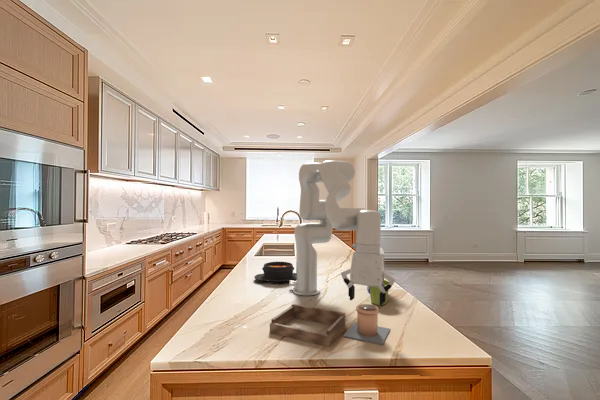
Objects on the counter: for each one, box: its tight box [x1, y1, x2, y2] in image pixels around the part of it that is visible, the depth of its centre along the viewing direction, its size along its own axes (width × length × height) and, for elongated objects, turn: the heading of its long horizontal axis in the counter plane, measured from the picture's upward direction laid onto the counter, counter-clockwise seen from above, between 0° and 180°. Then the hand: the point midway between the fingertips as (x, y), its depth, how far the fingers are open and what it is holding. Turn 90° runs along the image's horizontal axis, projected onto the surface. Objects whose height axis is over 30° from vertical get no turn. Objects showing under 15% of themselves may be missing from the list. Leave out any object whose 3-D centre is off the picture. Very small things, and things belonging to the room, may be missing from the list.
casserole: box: [254, 261, 296, 284], centre depth 164 cm, size 25×19×8 cm
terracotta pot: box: [355, 303, 380, 336], centre depth 100 cm, size 7×7×8 cm
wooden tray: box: [269, 303, 346, 347], centre depth 103 cm, size 20×16×4 cm
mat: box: [343, 321, 391, 346], centre depth 100 cm, size 12×12×1 cm
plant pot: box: [369, 279, 389, 306], centre depth 129 cm, size 9×9×9 cm
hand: (366, 301), depth 100 cm, fingers open, 9 cm apart
